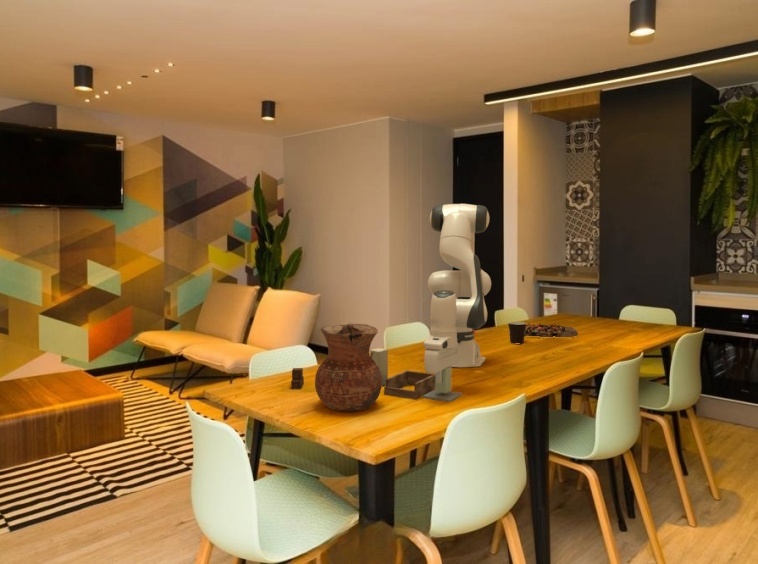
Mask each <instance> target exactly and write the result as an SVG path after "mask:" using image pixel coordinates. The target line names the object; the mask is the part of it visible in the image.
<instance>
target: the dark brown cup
mask: <svg viewBox="0 0 758 564" xmlns="http://www.w3.org/2000/svg"><path fill="white" fill-rule="evenodd" d="M507 324H508V332H509V342H511V343H524V341H525V337H524V336H525V329H526V325H527V323H526V322H522V321H510V322H508V323H507ZM511 343H510V344H511Z"/></svg>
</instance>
